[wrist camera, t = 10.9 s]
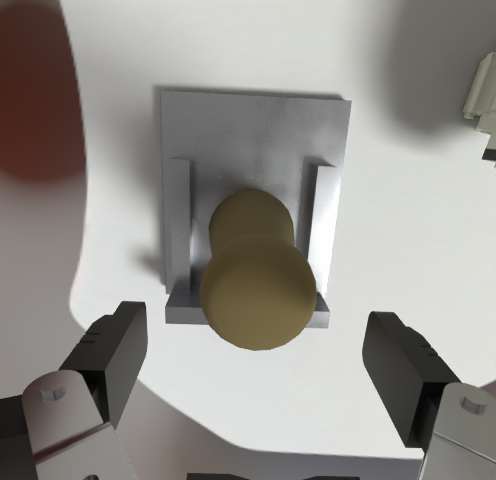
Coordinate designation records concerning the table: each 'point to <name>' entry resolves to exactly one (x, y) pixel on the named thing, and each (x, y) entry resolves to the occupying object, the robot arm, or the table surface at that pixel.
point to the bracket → (247, 179)
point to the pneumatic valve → (484, 103)
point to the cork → (256, 274)
